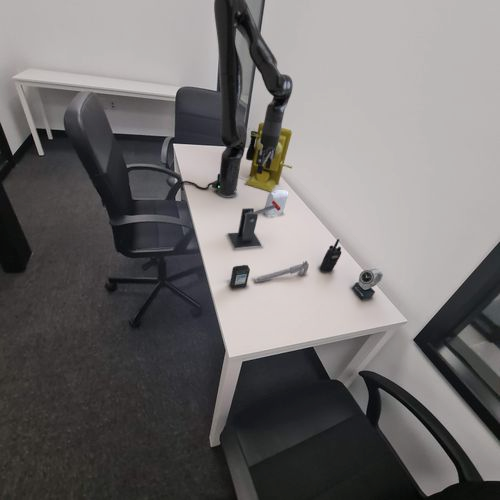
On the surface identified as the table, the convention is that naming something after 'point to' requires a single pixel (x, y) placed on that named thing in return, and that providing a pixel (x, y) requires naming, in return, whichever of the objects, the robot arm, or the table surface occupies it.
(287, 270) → the caliper
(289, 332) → the table surface
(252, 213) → the lever
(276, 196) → the photo printer
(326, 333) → the table surface
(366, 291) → the watch
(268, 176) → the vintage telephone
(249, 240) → the stand
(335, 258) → the two-way radio
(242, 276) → the ink cartridge
